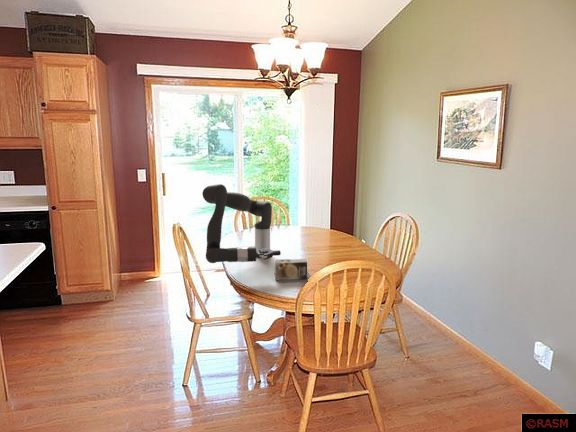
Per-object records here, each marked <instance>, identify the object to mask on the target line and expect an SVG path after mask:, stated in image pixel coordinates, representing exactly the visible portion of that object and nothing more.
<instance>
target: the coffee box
mask: <svg viewBox="0 0 576 432" xmlns="http://www.w3.org/2000/svg"><path fill="white" fill-rule="evenodd" d="M274 264H275V265H274V267H275V268H274V269H275V270H274V273H275V274H274V275H275V280H277V281H278V280H292V279H307V271H308V261H307V259H304V258H302V259H298V258H297V259H296V258H294V259H293V258H292V259H291V258H290V259H286V258H285V259H281V258H280V259H279V258H278V259H275V261H274Z"/></svg>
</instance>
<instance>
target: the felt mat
mask: <svg viewBox="0 0 576 432" xmlns="http://www.w3.org/2000/svg"><path fill="white" fill-rule="evenodd" d="M274 275H275V272H274ZM310 277H312V275H311V274H310V273H309V271H308V270H307V279H292V280H277V282H278V284H283V283H285V284H286V283H299V282H300V283H301V282H309V281H308V279H309V278H310Z"/></svg>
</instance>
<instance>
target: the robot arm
mask: <svg viewBox="0 0 576 432" xmlns="http://www.w3.org/2000/svg"><path fill="white" fill-rule="evenodd" d="M202 197H203V200H204V201H205V202H206V203H209V204H212V205H214V204H215V206H214V211H213V213H212V216H211V217H210V220H209V221H208V224H207V227H206V251H205V259H206V261H207V262H208V263H210V264H216V263H223V262H227V263H237V262H239V263H250V262H257V259H263V260H268V259H271V258H273V257H274V256H281V254H282V253H281V250H273V249H271V225H272V216H273V215H272V214H273V207H272V203H270V202H269V201H264V200H253V199H250V197H249V196H247V195H245V194H244V193H239V192H235V191H234V192H231V191H228V190H227V187H226V186H225V185H224V184H221V183H220V184H219V183H218V184H212V185H208V186H205V188H203V190H202ZM226 207H227V208H229V209H233V210H236V211H239V212H247V213H249V214H251V215H254V216H256V217H261V218H260V219H261V220H259V221H256V222H255V223H254V246H241V247H228V248H224V247H221V240H222V225H223V219H224V215H225V210H226V209H225V208H226Z"/></svg>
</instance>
